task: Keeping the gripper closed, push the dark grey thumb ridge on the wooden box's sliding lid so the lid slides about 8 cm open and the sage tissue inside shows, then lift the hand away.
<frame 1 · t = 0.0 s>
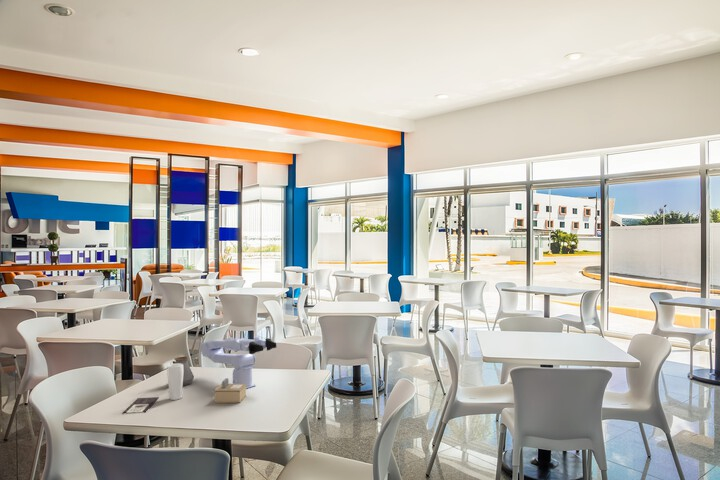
hand: (269, 346, 216), 22 cm above the table, tool horizontal, fingers open, 7 cm apart
wooden box: (230, 399, 209), on the table
coffee pot: (179, 387, 229), on the table
chocolate bar: (141, 407, 203), on the table
sliding lid: (230, 383, 209), point 7 cm above the table, slide at 0.0 cm
drinking glass: (175, 398, 211), on the table
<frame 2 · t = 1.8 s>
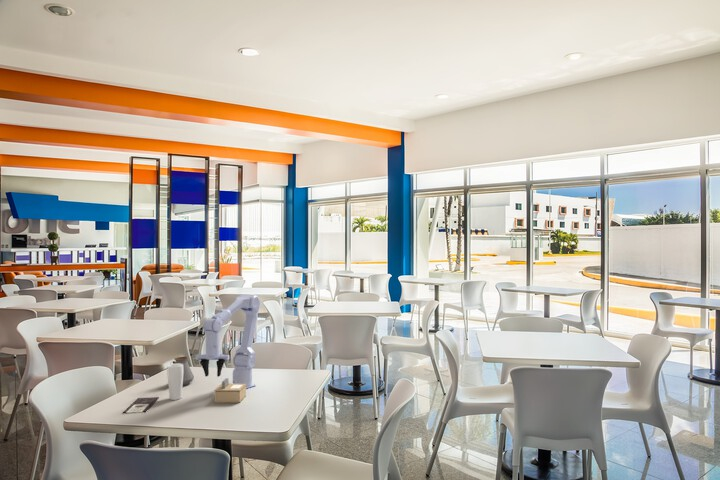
hand: (212, 375, 210), 10 cm above the table, tool pointing down, fingers open, 5 cm apart
nothing on the table moved.
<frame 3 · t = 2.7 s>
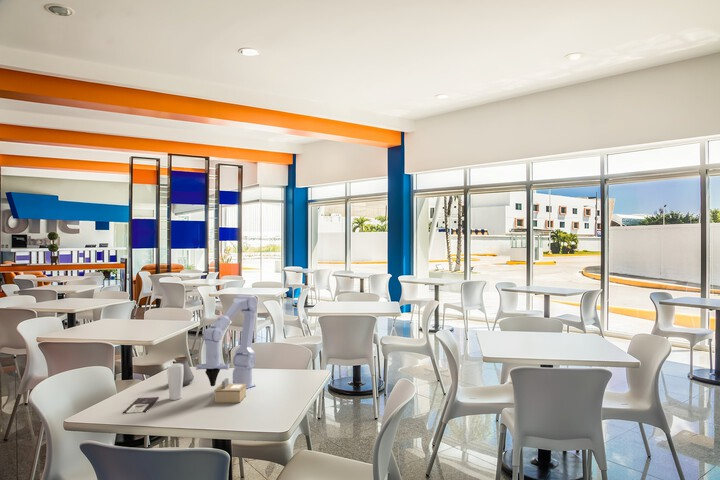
hand: (213, 385, 210), 6 cm above the table, tool pointing down, fingers closed
nothing on the table moved.
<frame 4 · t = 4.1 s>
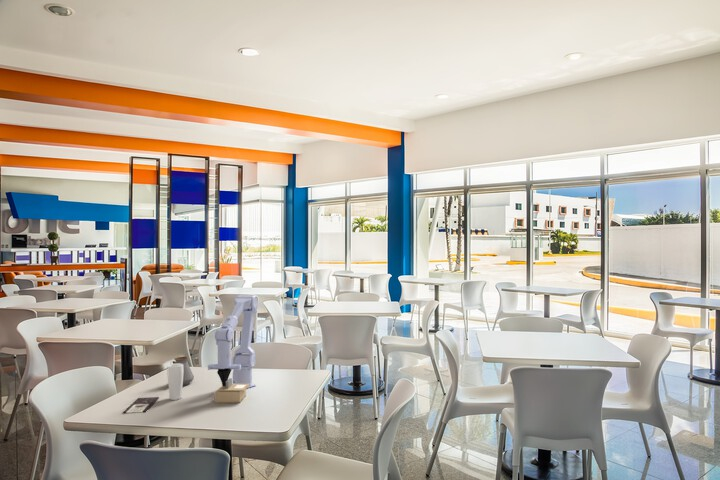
hand: (224, 385, 209), 6 cm above the table, tool pointing down, fingers closed
sliding lid: (234, 384, 209), point 7 cm above the table, slide at 1.6 cm, touching gripper
everything else where it was.
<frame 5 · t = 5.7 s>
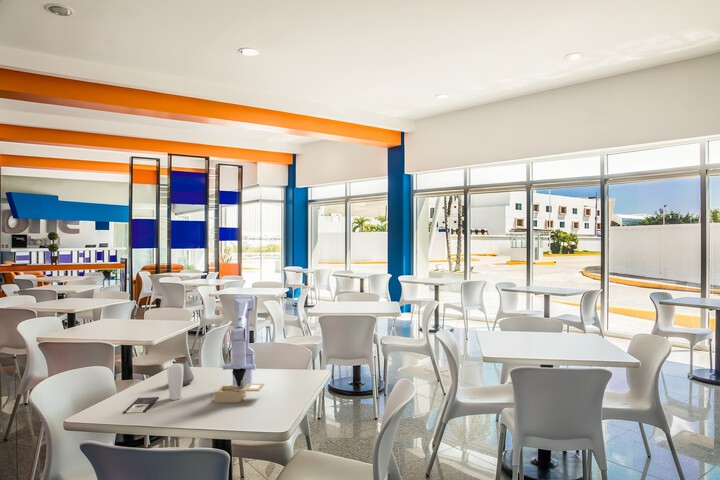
hand: (239, 385, 209), 6 cm above the table, tool pointing down, fingers closed
sliding lid: (249, 384, 209), point 7 cm above the table, slide at 8.3 cm, touching gripper
everything else where it was.
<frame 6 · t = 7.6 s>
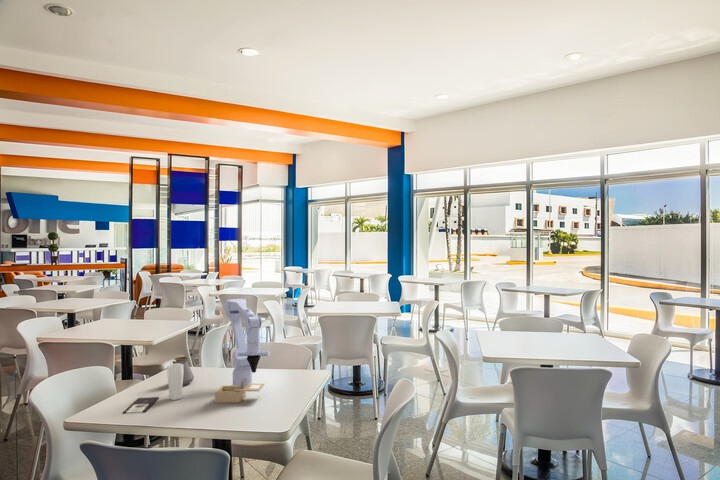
hand: (254, 372, 217), 10 cm above the table, tool pointing down, fingers closed
sliding lid: (249, 384, 209), point 7 cm above the table, slide at 8.3 cm
everything else where it was.
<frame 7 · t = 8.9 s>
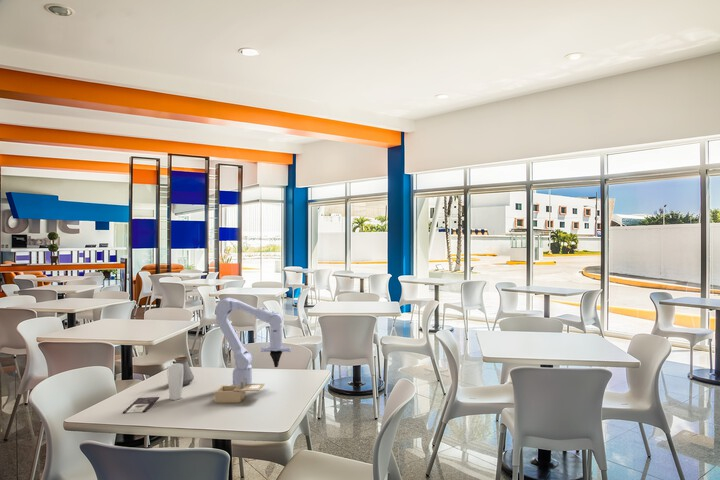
hand: (276, 366, 228), 9 cm above the table, tool pointing down, fingers closed
nothing on the table moved.
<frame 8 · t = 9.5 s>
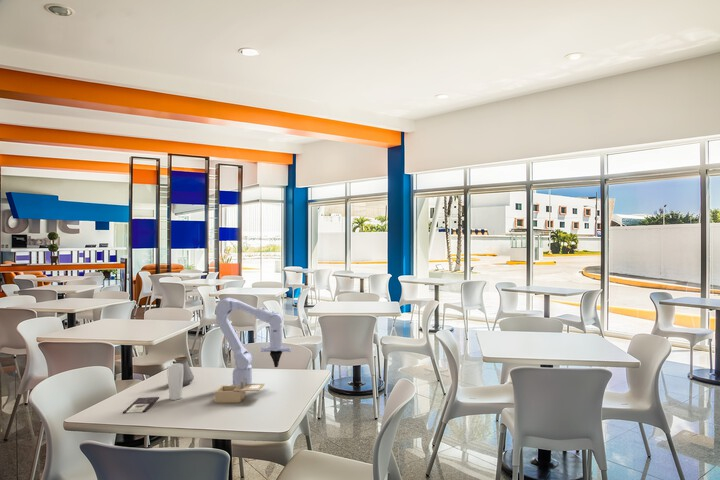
hand: (276, 366, 228), 9 cm above the table, tool pointing down, fingers closed
nothing on the table moved.
at the end: sliding lid slide at 8.3 cm; the gripper is holding nothing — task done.
